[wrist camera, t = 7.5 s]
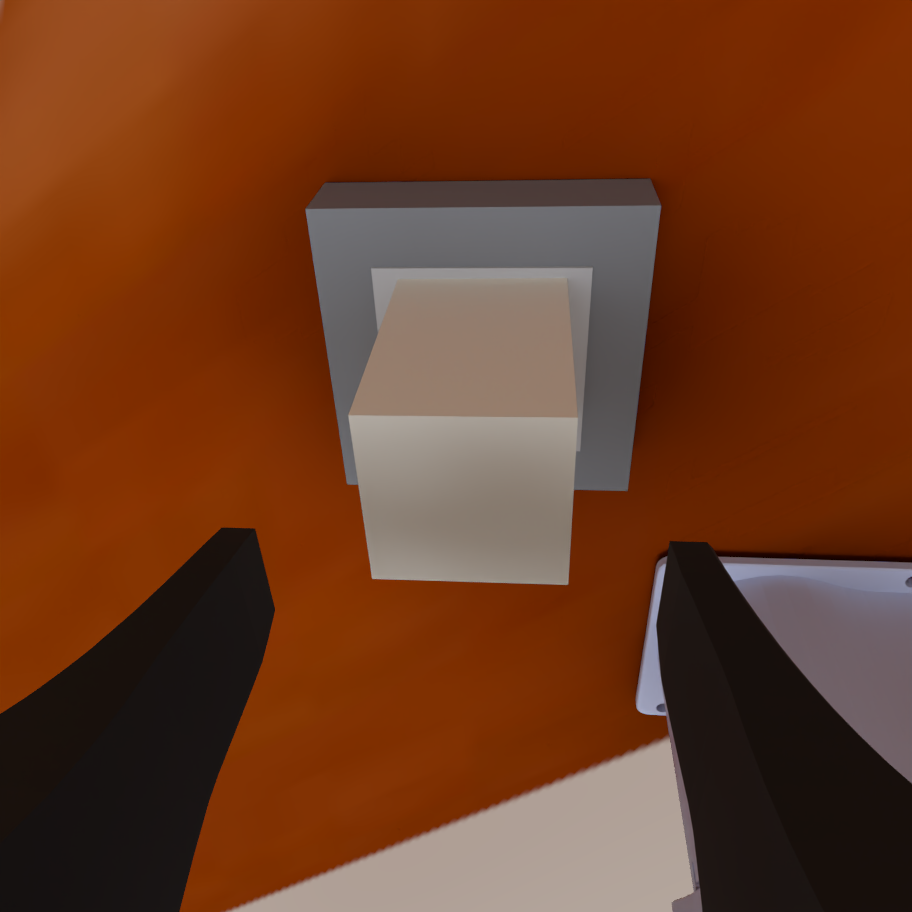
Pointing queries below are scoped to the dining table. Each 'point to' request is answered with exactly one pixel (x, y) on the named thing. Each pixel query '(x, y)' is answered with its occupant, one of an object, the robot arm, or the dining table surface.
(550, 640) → the dining table surface
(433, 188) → the gray base
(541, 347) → the cream block
